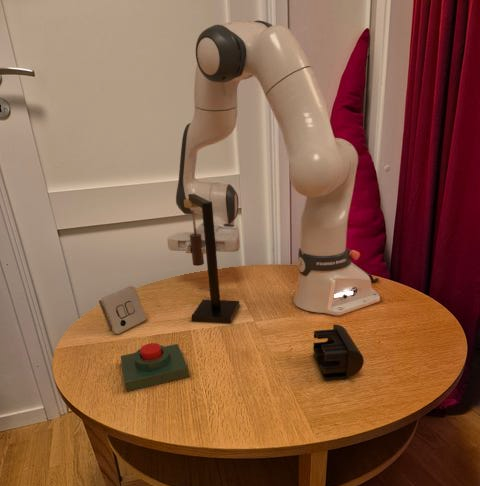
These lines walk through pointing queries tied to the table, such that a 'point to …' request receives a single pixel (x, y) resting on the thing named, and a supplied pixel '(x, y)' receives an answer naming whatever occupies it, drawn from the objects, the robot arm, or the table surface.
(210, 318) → the hanging handle stand
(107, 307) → the electrical switch
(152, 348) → the button
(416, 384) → the table surface
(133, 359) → the button box
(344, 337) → the end cap
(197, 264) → the pull handle
